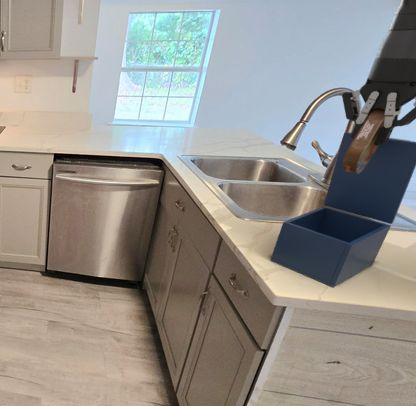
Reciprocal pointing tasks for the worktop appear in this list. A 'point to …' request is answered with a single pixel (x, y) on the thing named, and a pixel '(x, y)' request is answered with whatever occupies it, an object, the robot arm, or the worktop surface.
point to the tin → (364, 143)
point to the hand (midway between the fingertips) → (367, 142)
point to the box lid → (373, 180)
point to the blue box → (329, 244)
